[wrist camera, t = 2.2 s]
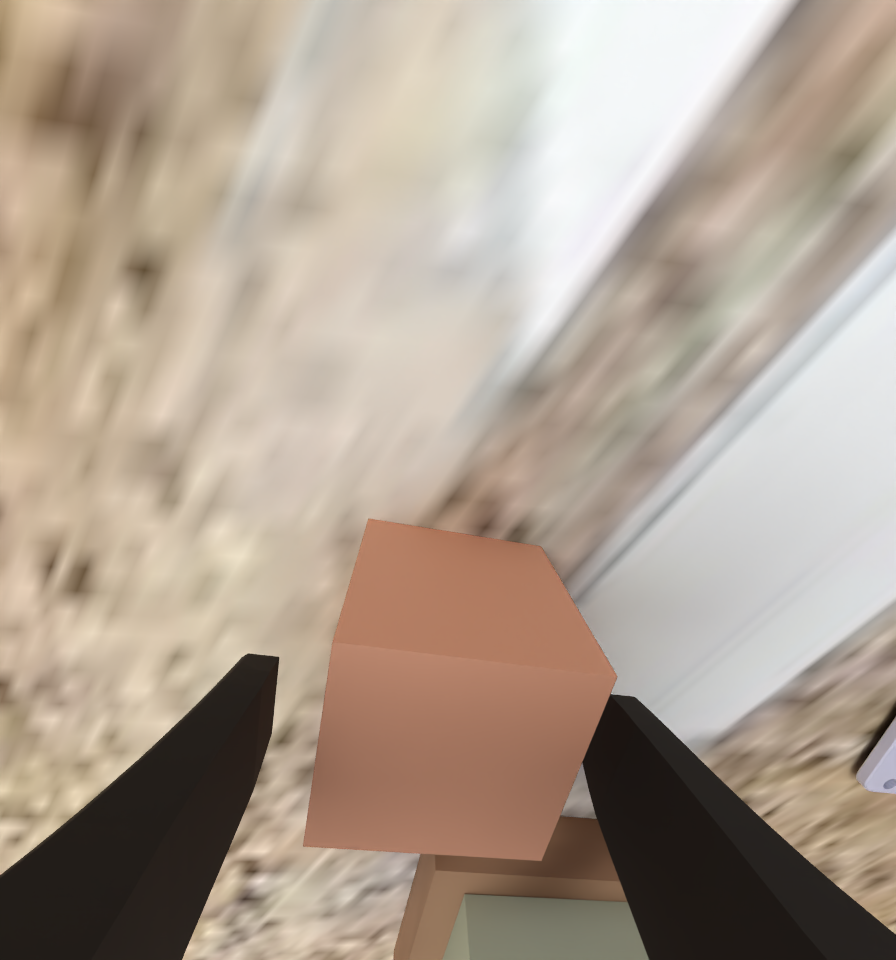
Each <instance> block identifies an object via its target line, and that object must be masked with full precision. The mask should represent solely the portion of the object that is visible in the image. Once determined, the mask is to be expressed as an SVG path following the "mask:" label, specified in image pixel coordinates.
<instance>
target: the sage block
mask: <svg viewBox="0 0 896 960" xmlns="http://www.w3.org/2000/svg"><path fill="white" fill-rule="evenodd" d="M442 960H649V958H648V956H647V953H646V950H645V948H644V945H643V942H642V940H641V937H640V934H639V931H638V929H637V926H636V923H635V921H634V918H633V915H632V913H631V910H630V907H629V905H628V902H615V901H595V900H574V899H554V898H533V897H513V896H492V895H472V894H465V895H464V897H463V900H462V903H461V906H460V909H459V912H458V915H457V918H456V921H455V924H454V927H453V930H452V933H451V936H450V939H449V942H448V945H447V947H446V950H445V953H444V956H443V959H442Z"/></svg>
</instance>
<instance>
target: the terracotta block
mask: <svg viewBox="0 0 896 960" xmlns="http://www.w3.org/2000/svg"><path fill="white" fill-rule="evenodd" d="M616 679H617V675H616V673H615V672H614V670H613V668H612V667H611V665H610V663H609V661H608V660H607V658H606V656H605V655H604V653H603V651H602V650H601V648H600V646H599V644H598V643H597V641H596V639H595V638H594V636H593V634H592V632H591V631H590V629H589V627H588V626H587V624H586V622H585V621H584V619H583V617H582V615H581V614H580V612H579V610H578V609H577V607H576V605H575V604H574V602H573V600H572V598H571V597H570V595H569V593H568V592H567V590H566V588H565V587H564V585H563V583H562V581H561V580H560V578H559V576H558V575H557V573H556V571H555V570H554V568H553V566H552V564H551V563H550V561H549V559H548V558H547V556H546V554H545V553H544V551H543V549H542V547H541V546H535V545H529V544H523V543H517V542H511V541H504V540H498V539H492V538H486V537H479V536H473V535H467V534H461V533H455V532H448V531H442V530H436V529H430V528H423V527H417V526H411V525H405V524H399V523H392V522H386V521H380V520H374V519H368V522H367V526H366V529H365V532H364V536H363V539H362V543H361V546H360V550H359V553H358V556H357V560H356V563H355V567H354V570H353V574H352V577H351V580H350V584H349V587H348V591H347V594H346V598H345V601H344V605H343V608H342V611H341V615H340V618H339V622H338V625H337V629H336V632H335V635H334V639H333V643H332V650H331V656H330V663H329V670H328V677H327V684H326V691H325V698H324V705H323V712H322V719H321V726H320V732H319V739H318V746H317V753H316V760H315V767H314V774H313V781H312V788H311V795H310V801H309V808H308V815H307V822H306V829H305V836H304V843H303V846H304V847H321V848H337V849H353V850H370V851H386V852H403V853H419V854H436V855H452V856H469V857H485V858H502V859H518V860H534V861H542V858H543V856H544V853H545V851H546V849H547V846H548V844H549V841H550V839H551V837H552V834H553V832H554V829H555V827H556V824H557V822H558V820H559V817H560V815H561V812H562V810H563V807H564V805H565V803H566V800H567V798H568V795H569V793H570V790H571V788H572V786H573V783H574V781H575V778H576V776H577V773H578V771H579V769H580V766H581V764H582V761H583V759H584V757H585V754H586V752H587V749H588V747H589V744H590V742H591V740H592V737H593V735H594V732H595V730H596V727H597V725H598V723H599V720H600V718H601V715H602V713H603V710H604V708H605V706H606V703H607V701H608V698H609V696H610V693H611V691H612V689H613V686H614V684H615V681H616Z"/></svg>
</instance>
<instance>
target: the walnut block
mask: <svg viewBox="0 0 896 960" xmlns="http://www.w3.org/2000/svg"><path fill="white" fill-rule="evenodd" d="M465 894H472V895H492V896H513V897H533V898H554V899H574V900H595V901H615V902H627V899H626V897H625V894H624V891H623V888H622V886H621V883H620V880H619V878H618V875H617V872H616V870H615V867H614V864H613V862H612V859H611V856H610V853H609V851H608V848H607V845H606V842H605V840H604V837H603V834H602V831H601V829H600V826H599V823H598V820H597V819H589V818H576V817H563V816H560V817H559V820H558V822H557V824H556V827H555V829H554V832H553V834H552V837H551V839H550V841H549V844H548V846H547V849H546V851H545V853H544V856H543V858H542V861H534V860H518V859H502V858H485V857H469V856H452V855H436V854H421V855H420V858H419V862H418V865H417V869H416V873H415V876H414V880H413V884H412V887H411V891H410V894H409V898H408V902H407V905H406V909H405V913H404V916H403V920H402V923H401V927H400V931H399V934H398V938H397V942H396V945H395V949H394V960H442V959H443V956H444V953H445V950H446V947H447V945H448V942H449V939H450V936H451V933H452V930H453V927H454V924H455V921H456V918H457V915H458V912H459V909H460V906H461V903H462V900H463V897H464V895H465Z"/></svg>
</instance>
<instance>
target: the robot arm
mask: <svg viewBox="0 0 896 960" xmlns="http://www.w3.org/2000/svg"><path fill="white" fill-rule="evenodd" d="M278 665H279V657H274V656H266V655H257V654H247V655H245V656H244V657H242V658H241V659H240V660H239V661H238V662H237V663H236V664H235V666H234V667H233V668H232V669H231V670H230V671H229V672H228V673H227V674H226V675H225V676H224V677H223V678H222V679H221V680H220V681H219V682H218V683H217V685H216V686H215V687H214V688H213V689H212V690H211V691H210V692H209V693H208V694H207V695H206V696H205V697H204V698H203V699H202V700H201V701H200V702H199V703H198V704H197V705H196V706H195V707H194V708H193V709H192V710H191V711H190V712H189V713H188V714H187V715H185V716H184V717H183V718H182V719H181V720H180V721H179V722H178V723H177V724H176V725H175V726H174V727H173V728H172V729H171V730H170V731H169V732H168V733H166V734H165V735H164V736H163V737H162V738H161V739H160V740H159V741H158V742H157V743H156V744H155V745H154V746H153V747H152V748H151V749H150V750H148V751H147V752H146V753H145V754H144V755H143V756H142V757H141V758H140V759H139V760H137V761H136V762H135V763H134V764H133V765H132V766H131V767H129V768H128V769H127V770H126V771H125V772H124V773H123V774H121V775H120V776H119V777H118V778H117V779H116V780H115V781H114V782H112V783H111V784H110V785H109V786H108V787H107V788H106V789H104V790H103V791H102V792H101V793H100V794H99V795H98V796H96V797H95V798H94V799H93V800H92V801H91V802H90V803H88V804H87V805H86V806H85V807H84V808H83V809H81V810H80V811H79V812H78V813H77V814H75V815H74V816H73V817H72V818H71V819H69V820H68V821H67V822H66V823H65V824H63V825H62V826H61V827H60V828H59V829H57V830H56V831H55V832H54V833H53V834H51V835H50V836H49V837H48V838H46V839H45V840H44V841H43V842H42V843H40V844H39V845H38V846H37V847H35V848H34V849H33V850H32V851H30V852H29V853H28V854H27V855H25V856H24V857H23V858H21V859H20V860H19V861H18V862H16V863H15V864H14V865H13V866H11V867H10V868H9V869H8V870H6V871H5V872H4V873H3V874H1V875H0V960H182V958H183V956H184V953H185V951H186V948H187V946H188V944H189V941H190V939H191V937H192V934H193V932H194V930H195V927H196V925H197V923H198V920H199V918H200V915H201V913H202V911H203V908H204V906H205V904H206V901H207V899H208V897H209V894H210V892H211V890H212V887H213V885H214V883H215V880H216V878H217V875H218V873H219V871H220V868H221V866H222V864H223V861H224V859H225V857H226V854H227V852H228V850H229V847H230V845H231V843H232V840H233V838H234V835H235V833H236V831H237V828H238V826H239V824H240V821H241V819H242V816H243V814H244V812H245V809H246V807H247V805H248V802H249V800H250V797H251V795H252V793H253V790H254V787H255V784H256V781H257V778H258V775H259V772H260V769H261V766H262V762H263V759H264V756H265V753H266V750H267V747H268V744H269V740H270V737H271V734H272V726H273V716H274V706H275V695H276V685H277V675H278ZM582 763H583V767H584V771H585V775H586V779H587V784H588V788H589V792H590V795H591V799H592V803H593V807H594V810H595V814H596V817H597V820H598V823H599V826H600V829H601V831H602V834H603V837H604V840H605V842H606V845H607V848H608V851H609V853H610V856H611V859H612V862H613V864H614V867H615V870H616V872H617V875H618V878H619V880H620V883H621V886H622V888H623V891H624V894H625V897H626V899H627V902H628V905H629V907H630V910H631V913H632V915H633V918H634V921H635V923H636V926H637V929H638V931H639V934H640V937H641V940H642V942H643V945H644V948H645V950H646V953H647V956H648V958H649V960H896V934H894V933H893V932H892V931H891V930H889V929H888V928H887V927H886V926H885V925H883V924H882V923H881V922H880V921H879V920H877V919H876V918H875V917H874V916H872V915H871V914H870V913H869V912H868V911H866V910H865V909H864V908H863V907H862V906H860V905H859V904H858V903H857V902H856V901H854V900H853V899H852V898H851V897H850V896H848V895H847V894H846V893H845V892H844V891H842V890H841V889H840V888H839V887H838V886H836V885H835V884H834V883H833V882H832V881H831V880H829V879H828V878H827V877H826V876H825V875H824V874H823V873H821V872H820V871H819V870H818V869H817V868H816V867H814V866H813V865H812V864H811V863H810V862H809V861H808V860H806V859H805V858H804V857H803V856H802V855H801V854H800V853H799V852H798V851H797V850H795V849H794V848H793V847H792V846H791V845H790V844H789V843H788V842H787V841H785V840H784V839H783V838H782V837H781V836H780V835H779V834H778V833H777V832H776V831H774V830H773V829H772V828H771V827H770V826H769V825H768V824H767V823H766V822H765V821H763V820H762V819H761V818H760V817H759V816H758V815H757V814H756V813H755V812H754V811H753V810H752V809H751V808H750V807H749V806H747V805H746V804H745V803H744V802H743V801H742V800H741V799H740V798H739V797H738V796H737V795H736V794H735V793H734V792H733V791H732V790H731V789H730V788H729V787H728V786H727V785H725V784H724V783H723V782H722V781H721V780H720V779H719V778H718V777H717V776H716V775H715V774H714V773H713V772H712V771H711V770H710V769H709V768H708V767H707V766H706V765H705V764H704V763H703V762H702V761H701V760H700V759H699V758H698V757H697V756H696V755H695V754H694V753H693V752H692V751H691V750H690V749H689V748H688V747H687V746H686V745H685V744H684V743H683V742H681V741H680V740H679V739H678V738H677V737H676V736H675V735H674V734H673V733H672V732H671V731H670V730H669V729H668V728H667V727H666V726H665V725H664V724H663V723H662V722H661V721H660V720H659V719H658V718H657V717H656V716H655V715H654V714H653V713H652V712H651V711H650V710H648V709H647V708H646V707H645V706H644V705H643V704H642V703H641V702H640V701H639V700H637V699H636V698H635V697H630V696H621V695H613V694H610V696H609V698H608V701H607V703H606V706H605V708H604V710H603V713H602V715H601V718H600V720H599V723H598V725H597V727H596V730H595V732H594V735H593V737H592V740H591V742H590V744H589V747H588V749H587V752H586V754H585V757H584V759H583V761H582ZM856 780H857V781H858V782H859V783H860V784H861V785H862V786H863V787H864V788H865V789H866V790H868V791H872V792H882V793H893V794H896V717H895V718H894V720H893V721H892V723H891V724H890V726H889V727H888V728H887V730H886V731H885V733H884V734H883V736H882V737H881V738H880V740H879V741H878V743H877V744H876V746H875V747H874V749H873V750H872V751H871V753H870V754H869V756H868V757H867V759H866V760H865V761H864V763H863V764H862V766H861V767H860V769H859V770H858V772H857V774H856Z"/></svg>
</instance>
